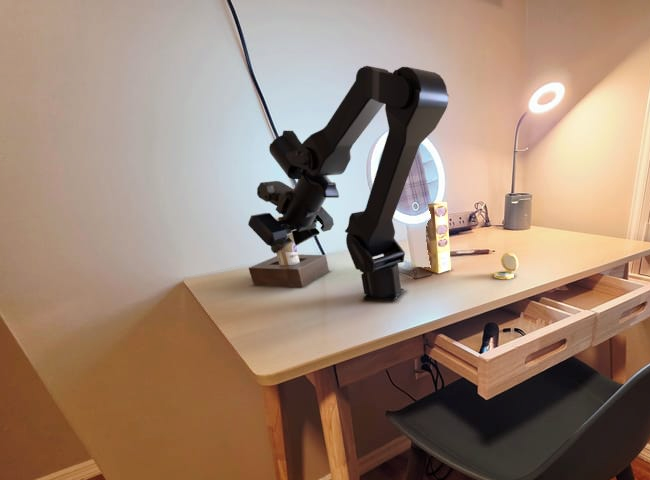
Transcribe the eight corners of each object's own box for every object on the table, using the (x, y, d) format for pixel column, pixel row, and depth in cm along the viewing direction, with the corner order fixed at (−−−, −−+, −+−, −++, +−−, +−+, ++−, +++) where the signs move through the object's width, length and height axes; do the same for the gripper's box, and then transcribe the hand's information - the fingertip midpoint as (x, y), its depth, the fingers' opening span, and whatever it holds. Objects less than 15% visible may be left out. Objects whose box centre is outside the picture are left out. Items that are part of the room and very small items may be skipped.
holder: (329, 271, 91) (325, 255, 89) (302, 287, 81) (298, 269, 79) (285, 270, 93) (281, 254, 91) (253, 285, 83) (248, 267, 81)
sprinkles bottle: (302, 280, 86) (287, 218, 79) (281, 282, 85) (264, 219, 78) (304, 274, 90) (290, 215, 83) (284, 276, 89) (268, 216, 82)
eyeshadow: (490, 276, 85) (490, 255, 82) (503, 271, 88) (503, 250, 86) (506, 280, 82) (507, 258, 80) (518, 275, 86) (519, 253, 83)
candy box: (451, 270, 90) (448, 202, 82) (438, 274, 88) (434, 204, 80) (428, 263, 96) (423, 199, 88) (415, 267, 93) (409, 201, 85)
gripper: (312, 164, 82) (287, 215, 91) (238, 168, 67) (217, 229, 76) (347, 203, 83) (319, 250, 92) (283, 216, 68) (257, 270, 77)
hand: (281, 249), depth 84 cm, fingers open, 4 cm apart
